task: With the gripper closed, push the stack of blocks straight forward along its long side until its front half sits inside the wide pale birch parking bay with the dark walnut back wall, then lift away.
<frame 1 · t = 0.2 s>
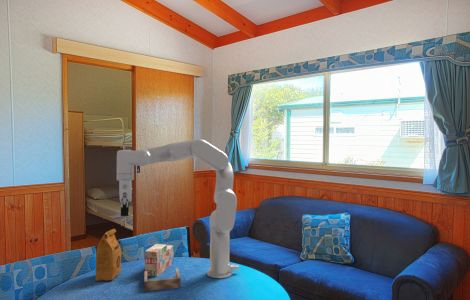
hand: (124, 214, 154), 31 cm above the table, tool pointing down, fingers open, 9 cm apart
parking bay: (161, 283, 152), on the table
coffee package: (108, 277, 159), on the table
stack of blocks: (160, 269, 171), on the table
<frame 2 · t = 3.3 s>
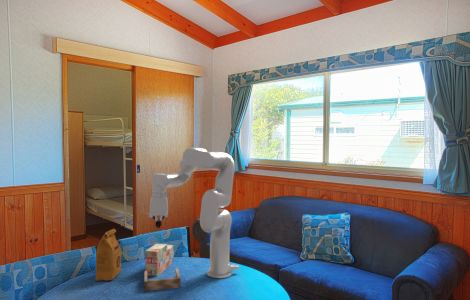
hand: (158, 227, 189), 17 cm above the table, tool pointing down, fingers closed
nothing on the table moved.
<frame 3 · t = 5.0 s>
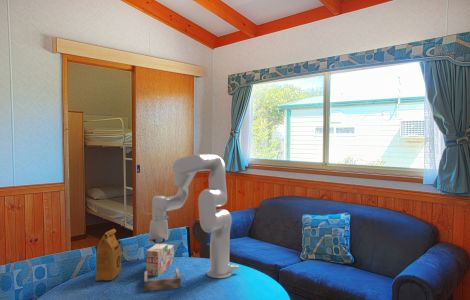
hand: (158, 250, 188), 4 cm above the table, tool pointing down, fingers closed
nothing on the table moved.
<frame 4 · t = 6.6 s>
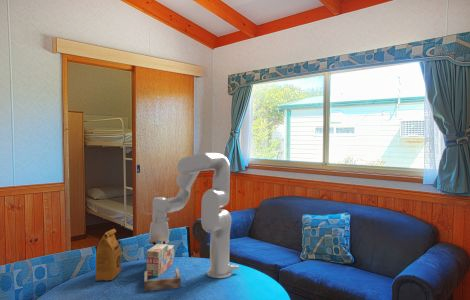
hand: (159, 253, 182), 4 cm above the table, tool pointing down, fingers closed
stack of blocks: (161, 269, 171), on the table, touching gripper
everything else where it was.
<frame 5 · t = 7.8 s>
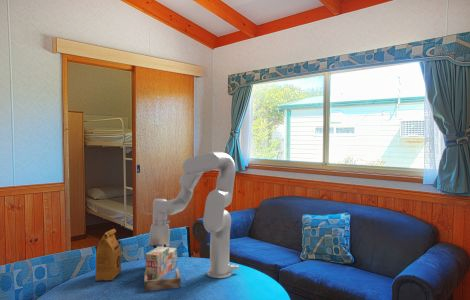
hand: (159, 257, 176), 4 cm above the table, tool pointing down, fingers closed
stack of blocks: (162, 272, 166), on the table, touching gripper
everything else where it was.
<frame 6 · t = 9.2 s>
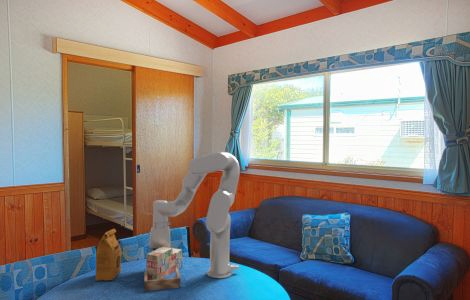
hand: (159, 260, 171), 4 cm above the table, tool pointing down, fingers closed
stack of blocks: (165, 273, 165), on the table
everything else where it was.
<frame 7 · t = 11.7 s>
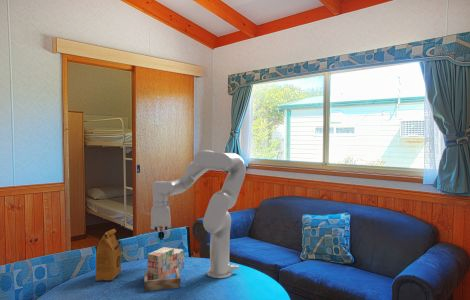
hand: (161, 239, 176), 14 cm above the table, tool pointing down, fingers closed
nothing on the table moved.
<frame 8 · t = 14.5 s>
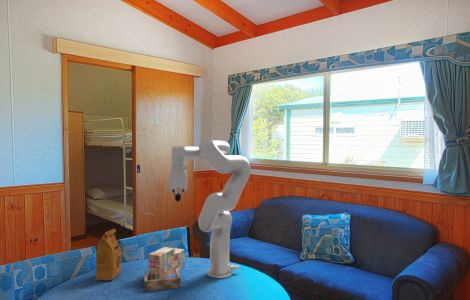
hand: (177, 201, 187), 32 cm above the table, tool pointing down, fingers closed
at the end: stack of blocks inside the target area on the table beside the parking bay (4.3 cm from its centre), on the table; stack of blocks tilted 0°; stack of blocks moved 7.6 cm from its start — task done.
